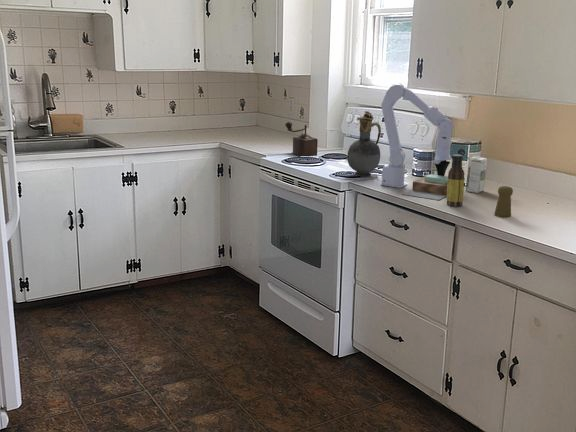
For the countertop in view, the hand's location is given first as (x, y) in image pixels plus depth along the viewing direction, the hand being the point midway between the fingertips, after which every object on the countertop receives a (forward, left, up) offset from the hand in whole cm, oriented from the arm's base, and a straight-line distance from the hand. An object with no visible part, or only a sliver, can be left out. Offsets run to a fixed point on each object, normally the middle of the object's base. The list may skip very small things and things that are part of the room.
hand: (440, 177), depth 277 cm
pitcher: (-39, +5, -5) cm, 40 cm away
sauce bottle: (+15, -25, -5) cm, 29 cm away
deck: (0, -6, -5) cm, 7 cm away
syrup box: (+14, +4, -5) cm, 15 cm away
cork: (+35, -29, -5) cm, 45 cm away
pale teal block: (0, -5, -1) cm, 5 cm away
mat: (0, -17, -5) cm, 17 cm away
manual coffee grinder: (-92, +31, -5) cm, 97 cm away
